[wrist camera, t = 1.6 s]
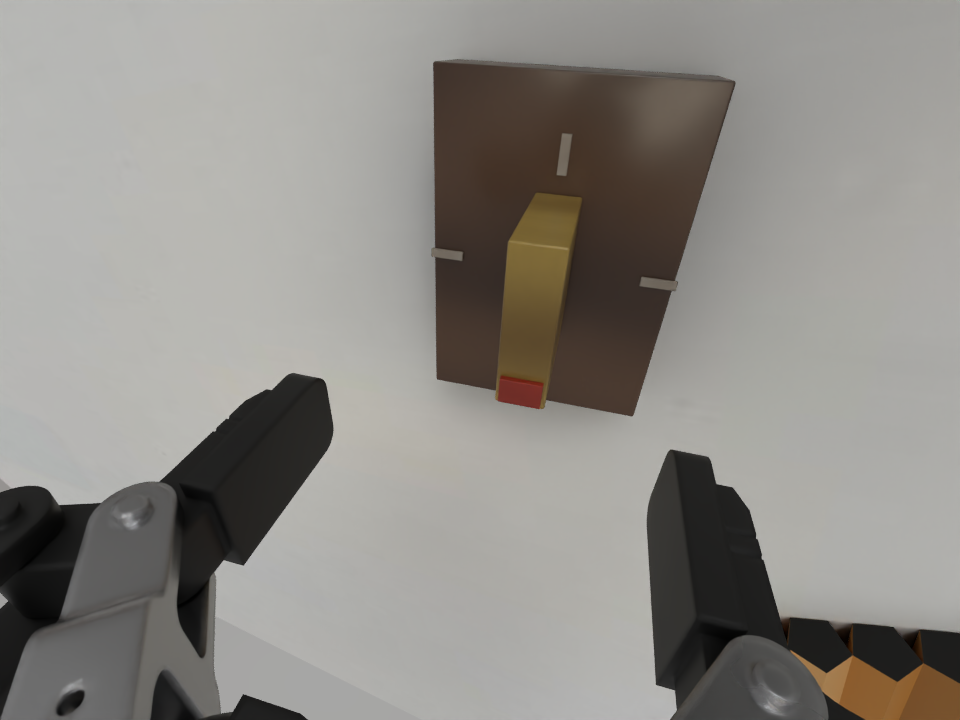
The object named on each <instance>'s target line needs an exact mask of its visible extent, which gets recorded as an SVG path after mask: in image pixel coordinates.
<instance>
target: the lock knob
mask: <svg viewBox="0 0 960 720" xmlns="http://www.w3.org/2000/svg"><path fill="white" fill-rule="evenodd" d="M581 205H582V198H581V197H572V196H563V195H554V194H545V193H536V194H535V195H534V197H533V199H532V201H531V202H530V204H529V206H528V208H527V209H526V211H525V213H524V215H523V216H522V218H521V220H520V222H519V223H518V225H517V227H516V229H515V230H514V232H513V234H512V236H511V237H510V239H509V241H508V247H507V259H506V272H505V284H504V296H503V308H502V320H501V333H500V345H499V357H498V369H497V382H496V394H495V399H496V400H498V401H500V402H505V403H510V404H515V405H520V406H525V407H531V408H536V409H544V407H545V403H546V398H547V393H548V389H549V384H550V379H551V374H552V369H553V365H554V360H555V355H556V350H557V346H558V341H559V336H560V331H561V325H562V319H563V313H564V307H565V301H566V295H567V289H568V283H569V277H570V271H571V265H572V259H573V253H574V247H575V241H576V235H577V229H578V223H579V217H580V211H581Z"/></svg>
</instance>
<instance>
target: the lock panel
mask: <svg viewBox="0 0 960 720" xmlns="http://www.w3.org/2000/svg"><path fill="white" fill-rule="evenodd" d="M433 71H434V170H435V248H432V257H435V269H436V368H437V379H438V380H443V381H449V382H454V383H459V384H464V385H470V386H475V387H480V388H485V389H491V390H496V382H497V369H498V357H499V345H500V333H501V320H502V308H503V296H504V284H505V272H506V259H507V247H508V241H509V239H510V237H511V236H512V234H513V232H514V230H515V229H516V227H517V225H518V223H519V222H520V220H521V218H522V216H523V215H524V213H525V211H526V209H527V208H528V206H529V204H530V202H531V201H532V199H533V197H534V195H535V194H536V193H545V194H554V195H563V196H572V197H581V198H582V205H581V211H580V217H579V223H578V229H577V235H576V241H575V247H574V253H573V259H572V265H571V271H570V277H569V283H568V289H567V295H566V301H565V307H564V313H563V319H562V325H561V331H560V336H559V341H558V346H557V350H556V355H555V360H554V365H553V369H552V374H551V379H550V384H549V389H548V393H547V398H546V400H549V401H554V402H559V403H564V404H570V405H575V406H580V407H585V408H591V409H596V410H601V411H606V412H612V413H617V414H622V415H628V416H633V415H634V412H635V408H636V405H637V402H638V399H639V395H640V392H641V389H642V386H643V383H644V379H645V376H646V373H647V370H648V366H649V363H650V360H651V357H652V353H653V350H654V347H655V344H656V340H657V337H658V334H659V331H660V327H661V324H662V321H663V318H664V314H665V311H666V308H667V305H668V301H669V298H670V295H671V292H672V291H676V288H677V285H678V282H677V281H675V279H676V275H677V272H678V269H679V266H680V262H681V259H682V256H683V253H684V249H685V246H686V243H687V240H688V236H689V233H690V230H691V227H692V223H693V220H694V217H695V214H696V210H697V207H698V204H699V201H700V197H701V194H702V191H703V188H704V184H705V181H706V178H707V175H708V171H709V168H710V165H711V162H712V158H713V155H714V152H715V149H716V145H717V142H718V139H719V136H720V132H721V129H722V126H723V123H724V119H725V116H726V113H727V110H728V106H729V103H730V100H731V97H732V93H733V90H734V87H735V81H733V80H730V79H726V78H723V77H720V76H712V75H696V74H681V73H665V72H650V71H634V70H618V69H603V68H587V67H571V66H556V65H540V64H525V63H509V62H493V61H478V60H462V59H455V60H445V61H435V62H434V63H433Z"/></svg>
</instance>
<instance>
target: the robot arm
mask: <svg viewBox="0 0 960 720" xmlns="http://www.w3.org/2000/svg"><path fill="white" fill-rule="evenodd" d="M332 436H333V421H332V415H331V409H330V404H329V398H328V392H327V387H326V383H325V381H324V380H323V379H320V378H316V377H310V376H305V375H300V374H295V373H291V374H289V375H287V376H286V377H285V378H284V379H283V380H282V381H281V382H280V383H279V384H278V385H277V386H276V387H275V388H274V389H273V390H265V391H263V392H261V393H259V394H257V395H255V396H253V397H252V398H250V399H248V400H246V401H245V402H244V403H243V404H241V405H240V406H239V407H238V408H237V409H236V410H235V411H234V412H233V413H232V414H231V415H230V416H229V419H226V420H225V421H223V422H222V423H221V424H220V425H219V426H218V427H217V428H216V431H215V432H212V433H211V434H210V435H209V436H208V437H207V438H205V439H204V440H203V441H202V442H201V443H200V444H199V445H198V446H197V447H196V448H195V449H194V450H193V451H192V452H191V453H190V454H189V455H187V456H186V457H185V458H184V459H183V460H182V461H181V462H180V463H179V464H178V465H177V466H176V467H175V468H174V469H173V470H172V471H171V472H170V473H168V474H167V475H166V476H165V477H164V478H163V479H162V480H161V481H160V482H144V483H139V484H135V485H132V486H129V487H127V488H124V489H122V490H120V491H118V492H116V493H114V494H113V495H111V496H110V497H108V498H107V499H106V500H104V501H103V502H102V503H94V504H74V505H58V503H57V502H56V500H55V499H54V498H53V496H52V495H51V493H50V492H49V491H48V490H47V489H45V488H42V487H39V486H24V487H17V488H13V489H10V490H6V491H3V492H1V493H0V593H1V594H2V595H3V596H4V597H5V598H6V599H7V600H8V602H7V603H6V604H5V605H4V606H3V607H2V608H1V609H0V720H307V719H306V718H305V717H304V716H303V715H301V714H300V713H297V712H294V711H291V710H288V709H285V708H282V707H279V706H276V705H273V704H270V703H267V702H264V701H261V700H259V699H256V698H253V697H250V696H247V695H244V694H243V696H242V697H241V699H240V701H239V703H238V704H237V706H236V708H235V709H234V711H233V712H229V713H222V714H221V707H220V697H219V691H218V686H217V682H216V678H215V672H214V637H215V604H216V576H215V573H214V572H215V570H216V569H217V568H218V567H219V565H220V564H221V563H222V561H223V560H226V561H229V562H233V563H236V564H240V565H243V566H244V564H245V563H246V561H247V560H248V559H249V557H250V556H251V555H252V553H253V552H254V550H255V549H256V548H257V546H258V545H259V544H260V542H261V541H262V539H263V538H264V537H265V535H266V534H267V532H268V531H269V530H270V528H271V527H272V526H273V524H274V523H275V521H276V520H277V519H278V517H279V516H280V515H281V513H282V512H283V510H284V509H285V508H286V506H287V505H288V504H289V502H290V501H291V499H292V498H293V497H294V495H295V494H296V492H297V491H298V490H299V488H300V487H301V486H302V484H303V483H304V481H305V480H306V479H307V477H308V476H309V475H310V473H311V472H312V470H313V469H314V468H315V466H316V465H317V464H318V462H319V461H320V459H321V458H322V457H323V455H324V454H325V452H326V451H327V449H328V448H329V446H330V443H331V440H332ZM647 537H648V554H649V571H650V588H651V606H652V623H653V640H654V657H655V675H656V685H658V686H662V687H665V688H669V689H672V690H675V694H676V706H677V711H676V713H675V714H674V715H673V717H672V718H671V719H670V720H865V719H863V718H862V717H860V716H858V715H856V714H855V713H853V712H851V711H849V710H848V709H846V708H844V707H843V706H841V705H840V704H838V703H837V702H835V701H834V700H832V699H831V698H830V697H829V696H827V695H826V694H825V693H824V692H822V690H821V688H820V686H819V684H818V683H817V681H816V679H815V678H814V676H813V675H812V674H811V672H810V671H809V670H808V668H807V667H806V666H805V665H804V664H803V663H802V662H801V661H800V660H799V659H798V658H797V657H796V656H795V655H794V654H792V653H791V651H790V649H789V647H788V644H787V641H786V638H785V635H784V631H783V628H782V624H781V621H780V617H779V613H778V610H777V606H776V603H775V599H774V596H773V592H772V589H771V585H770V581H769V578H768V574H767V571H766V567H765V564H764V560H762V559H761V556H762V553H761V549H760V546H759V542H758V539H756V532H755V528H754V525H753V521H752V518H751V514H750V510H749V509H748V508H747V506H746V505H745V504H744V502H743V501H742V500H741V498H740V497H739V495H738V494H737V493H736V491H735V490H734V489H733V488H732V487H727V486H723V485H718V484H716V482H715V477H714V473H713V468H712V464H711V461H710V459H709V457H706V456H701V455H696V454H691V453H686V452H681V451H676V450H669V452H668V453H667V455H666V458H665V460H664V463H663V466H662V468H661V471H660V473H659V476H658V479H657V481H656V484H655V486H654V489H653V491H652V494H651V497H650V501H649V505H648V512H647Z"/></svg>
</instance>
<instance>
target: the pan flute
mask: <svg viewBox="0 0 960 720" xmlns="http://www.w3.org/2000/svg"><path fill="white" fill-rule="evenodd" d="M787 644H788V647H789V649H790V651H791V653H792V654H794V655H795V656H796V657H797V658H798V659H799V660H800V661H801V662H802V663H803V664H804V665H805V666H806V667H807V668H808V670H809V671H810V672H811V674H812V675H813V676H814V678H815V679H816V681H817V683H818V684H819V686H820V688H821V690H822V692H824V693H825V694H826V695H827V696H829V697H830V698H831V699H832V700H834V701H835V702H837V703H838V704H840V705H841V706H843V707H844V708H846V709H848V710H849V711H851V712H853V713H855V714H856V715H858V716H860V717H862V718H863V719H865V720H960V634H959V633H948V632H938V631H927V630H920V631H919V633H918V636H917V638H916V641H915V643H914V646H913V648H912V649H911V648H910V647H909V645H908V644H907V643H906V642H905V641H904V639H903V638H902V637H901V636H900V635H899V633H898V632H897V631H896V630H895V629H894V627H884V626H873V625H862V624H852V628H851V631H850V635H849V639H848V642H847V646H846V645H845V644H844V642H843V641H842V640H841V638H840V637H839V636H838V634H837V633H836V631H835V630H834V629H833V627H832V626H831V625H830V623H829V622H828V621H819V620H808V619H797V618H790V623H789V630H788V637H787Z"/></svg>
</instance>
